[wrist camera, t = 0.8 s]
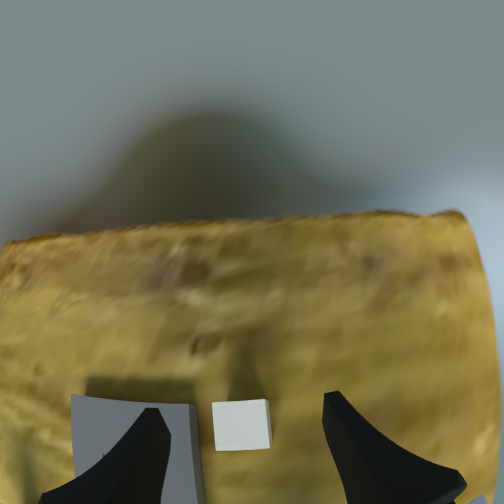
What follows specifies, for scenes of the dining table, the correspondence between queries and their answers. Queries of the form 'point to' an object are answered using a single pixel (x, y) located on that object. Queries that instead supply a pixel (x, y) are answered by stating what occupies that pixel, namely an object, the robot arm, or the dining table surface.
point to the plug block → (242, 425)
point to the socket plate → (117, 424)
